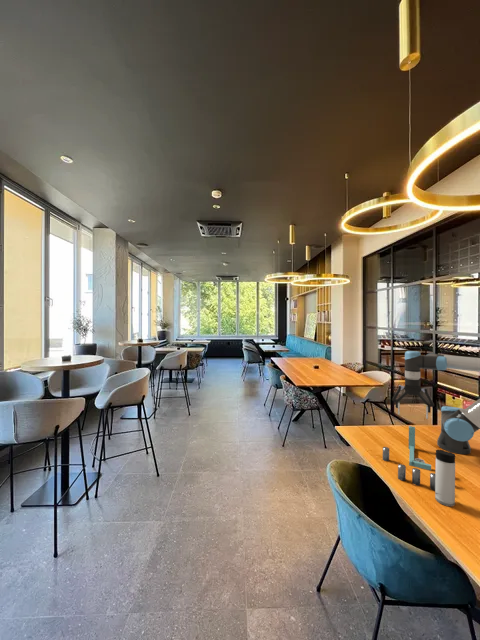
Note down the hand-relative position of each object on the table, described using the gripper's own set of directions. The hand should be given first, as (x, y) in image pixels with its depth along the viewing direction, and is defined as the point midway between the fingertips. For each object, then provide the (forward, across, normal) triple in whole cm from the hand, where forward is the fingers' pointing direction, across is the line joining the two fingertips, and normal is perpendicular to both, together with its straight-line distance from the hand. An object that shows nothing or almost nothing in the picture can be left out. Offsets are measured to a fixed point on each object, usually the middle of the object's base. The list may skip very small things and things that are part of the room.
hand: (412, 416), depth 157 cm
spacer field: (+18, 0, -32) cm, 37 cm away
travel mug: (+18, +11, -48) cm, 53 cm away
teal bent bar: (+18, +3, -11) cm, 22 cm away
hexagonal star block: (+18, +3, -19) cm, 26 cm away
